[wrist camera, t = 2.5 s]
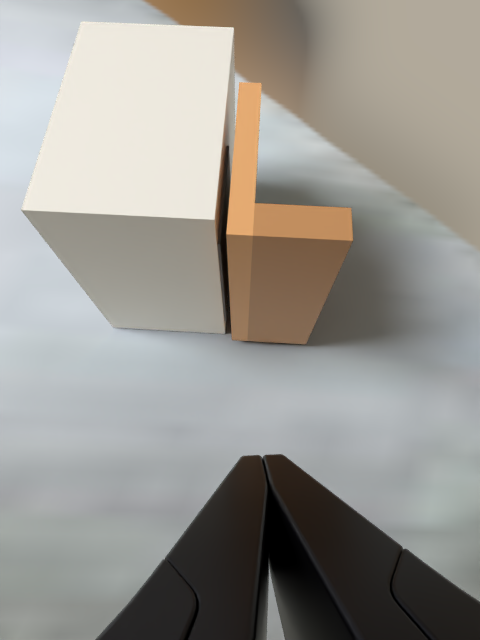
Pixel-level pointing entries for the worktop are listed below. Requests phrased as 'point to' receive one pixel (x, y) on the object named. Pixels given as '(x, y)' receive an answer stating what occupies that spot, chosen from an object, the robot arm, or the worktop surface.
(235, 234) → the orange l-shaped block
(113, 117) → the block
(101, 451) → the worktop surface
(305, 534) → the robot arm
